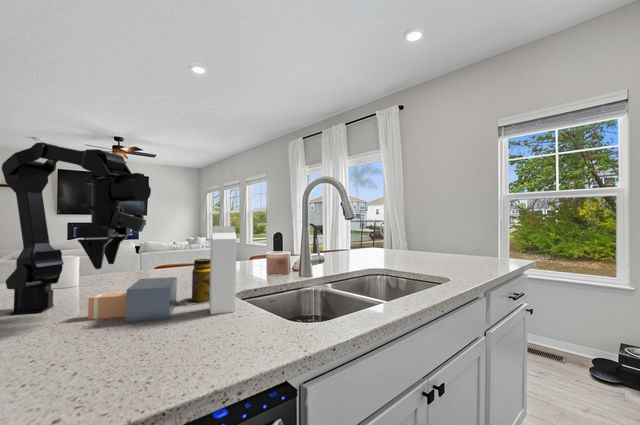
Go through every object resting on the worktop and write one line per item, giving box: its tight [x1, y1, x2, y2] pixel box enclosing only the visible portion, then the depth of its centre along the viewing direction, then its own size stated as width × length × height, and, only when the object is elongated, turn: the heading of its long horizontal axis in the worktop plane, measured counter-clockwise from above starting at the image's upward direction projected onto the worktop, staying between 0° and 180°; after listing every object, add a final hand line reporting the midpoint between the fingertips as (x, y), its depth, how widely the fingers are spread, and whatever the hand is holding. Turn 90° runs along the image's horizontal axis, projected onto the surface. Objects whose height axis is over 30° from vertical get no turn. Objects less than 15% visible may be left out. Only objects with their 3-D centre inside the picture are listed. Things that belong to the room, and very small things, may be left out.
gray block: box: [125, 276, 178, 324], centre depth 77 cm, size 10×14×8 cm
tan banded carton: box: [87, 292, 127, 320], centre depth 75 cm, size 14×3×5 cm, turn 109°
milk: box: [208, 225, 237, 315], centre depth 80 cm, size 6×6×22 cm
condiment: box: [181, 258, 210, 306], centre depth 89 cm, size 7×8×12 cm
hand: (105, 266), depth 74 cm, fingers open, 9 cm apart
